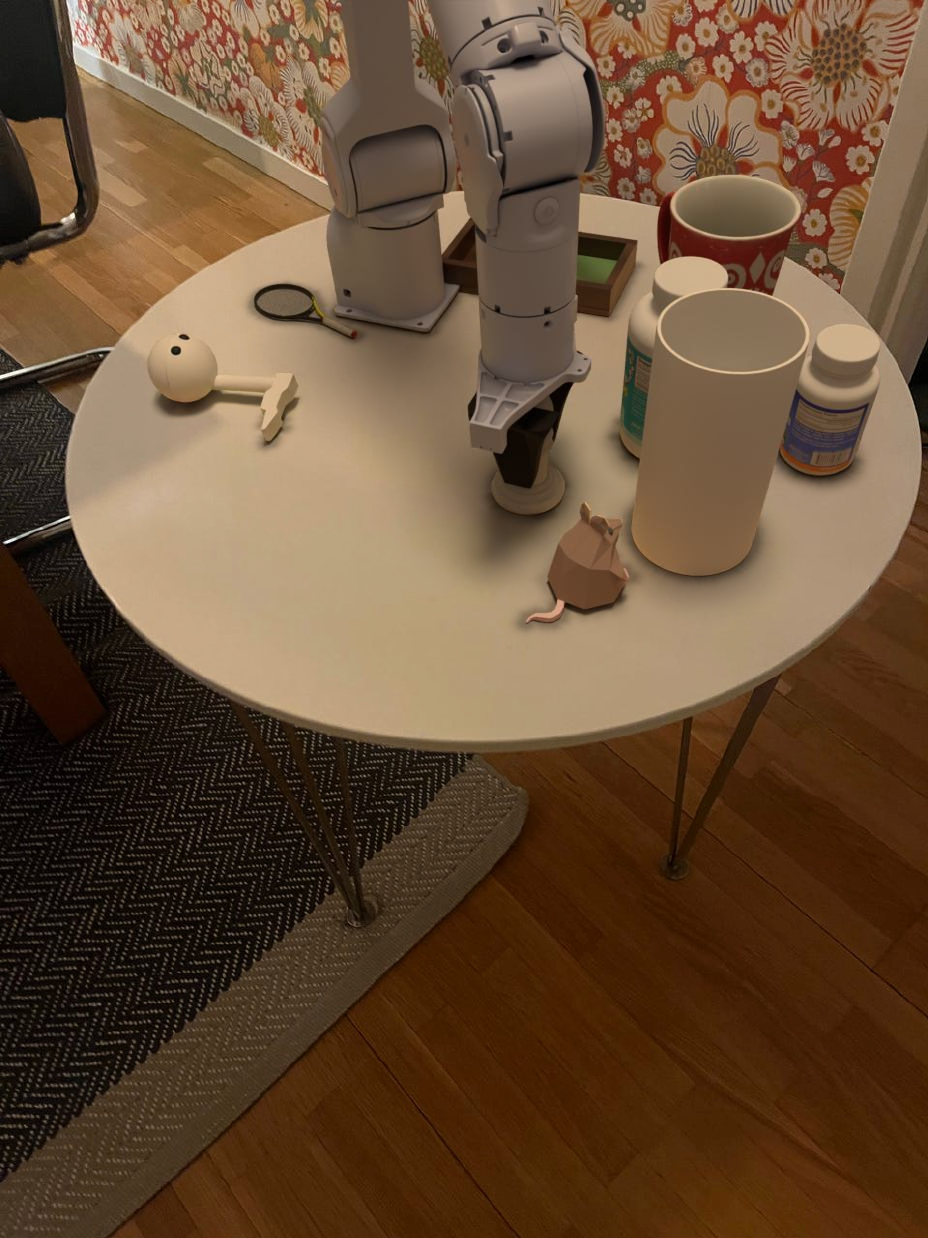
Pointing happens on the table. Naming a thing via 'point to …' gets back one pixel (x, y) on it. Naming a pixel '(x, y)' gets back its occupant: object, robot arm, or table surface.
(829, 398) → the pill bottle
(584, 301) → the tray
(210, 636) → the table surface
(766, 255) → the mug
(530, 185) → the robot arm
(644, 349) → the pill bottle
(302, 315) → the tennis racket
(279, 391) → the figurine
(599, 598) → the mouse figurine
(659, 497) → the cup
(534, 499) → the chess piece
